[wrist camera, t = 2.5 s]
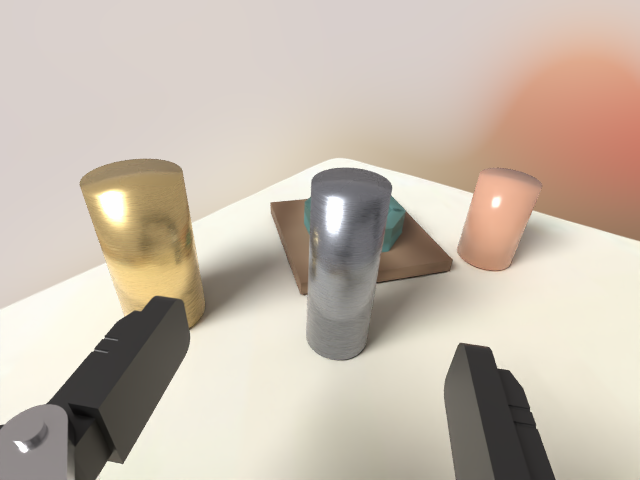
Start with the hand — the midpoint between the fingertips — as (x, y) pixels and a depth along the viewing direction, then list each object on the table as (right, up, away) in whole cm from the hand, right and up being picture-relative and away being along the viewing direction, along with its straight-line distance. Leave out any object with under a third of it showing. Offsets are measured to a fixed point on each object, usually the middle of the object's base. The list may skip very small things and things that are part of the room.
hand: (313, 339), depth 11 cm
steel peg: (+1, -4, +16) cm, 17 cm away
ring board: (+3, +3, +27) cm, 27 cm away
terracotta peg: (+16, +1, +26) cm, 30 cm away
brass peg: (-11, -2, +17) cm, 21 cm away
